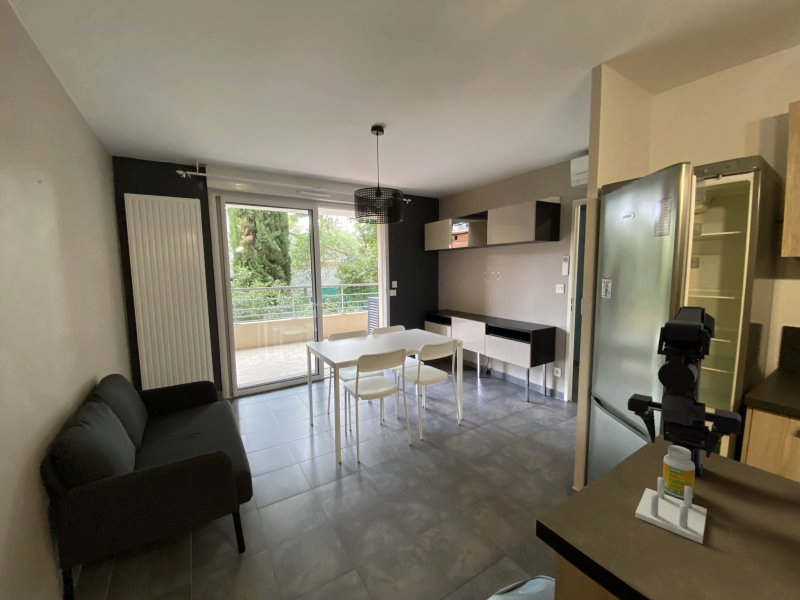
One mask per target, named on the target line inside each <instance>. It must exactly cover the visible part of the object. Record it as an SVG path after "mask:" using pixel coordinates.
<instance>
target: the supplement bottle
mask: <svg viewBox="0 0 800 600" xmlns="http://www.w3.org/2000/svg"><path fill="white" fill-rule="evenodd" d="M690 459H691V451H690V450H688V449H686V448H684V447H680V446H675V445H671V444H670V445H669V446H667V454H666V455H664V457H663V462H662V463H663V464H662V465H663V467H662V478H664V479H665V493H668V494H669V495H670V496H672V497H674V498H677V499H679V498H680V499H682V500H684V490H685V486H690V487H692V499H693V498H694V496H695V476H696V475H695V465H694V463H693V462H692V461H691V460H690Z"/></svg>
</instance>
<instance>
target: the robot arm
mask: <svg viewBox="0 0 800 600" xmlns="http://www.w3.org/2000/svg"><path fill="white" fill-rule="evenodd" d="M678 309H679V310H678V312H677V313H676V314H675V315H674V316H673V318H672V319H673V320H668V321H666V322H665V324H664V326H660V332H659V338H658V343H657V344H658V345H657V352H656V353H657V355H661V356H665V361H664V362H663V364H662V365H661V366H660V368H659V370H658V372H657V377H658V380H659V383H661V385H662V386H663V387H664V394H663V396H662V398H661V399H662V400H661V402H657V401H654V400H653V396H650V395H644V394H639V393H633V394H632V395H631V396H630V397H629V399H628V401H627V411H630V412H633V413H634V415H635V416H638V417H639V418H640V419H641V420H642V421H643V423H644V425H645V427H646V430H647V432H648V434H649V438H650V442H651V443H652V444H655V443H656V436H657V435H656V419H655V411H657V412H661V419H662V420H663V427H662V428H663V431H662V432H663V441H666V442H669V443H670V445H675V446H680V447H684V448H686V449H688V450H690V451H691V459H690V460H691V461H692V462H693V463H694V465H695V476H698V477H702V475H703V470H704V464H703V463H701V462H702V461H701V460H702V451H704V452H705V457H706V458H707V459H709V458H710V456H711V454H712V453H713V450H714V449H715V447H716V445H717V443H718V442H719V441H720V440H721V439H722V437H724V436H726V437H731V436H732V434H735V435H741V433H742V415H740V414H739V412H735V411H730V410H724V409H721V408H720V409H719V408H715V409H714V412H709V411H707V410H706V409H707V408H706V407H707V406H706V403H704V402H700V391H701V376H702V363H703V360H704V361H705V360H706V356H710V349H711V348H710V347H711V346H712V339H715V337H716V319H715V317H714V316H712V315H711V314H708V313H707V312H706V307H702V306H688V305H687V306H686V305H685V306H684V305H683V306H680V307H679V308H678ZM706 422H708V423H709V422H710V423H712V424H711V428H710V426H708V425H706V424H707V423H706Z"/></svg>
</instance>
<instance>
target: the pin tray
mask: <svg viewBox="0 0 800 600" xmlns="http://www.w3.org/2000/svg"><path fill="white" fill-rule="evenodd" d="M665 493H666V491H665V479H664V478H663V476H662V477H661V476H657V491H656V490H653V489H650V488H647V487H646V488H645V490H644V491H643V494H642V496H641V499H640V501H639V504H638V506H637V508H636V510H635V515H634V516H635V518H636V519H639V520H642V521H644V522H647V523H650V524H652V525H654V526H657V527H659V528H661V529H664V530H667V531H669V532H672V533H674V534H677V535H679V536H682V537H684V538H687V539H689V540H692V541H695V542H696V543H699V544H701V545H703V543H704V535H705V530H706V529H705V527H706V522H707V514H708V511H707V510H708V509H707V508H705V507H703V506H699V505H697V504H693V498H692V487H690V486H685V490H684V499H681V498H680V499H679V498H678V497H675V496H672V495H668V494H665Z"/></svg>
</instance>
